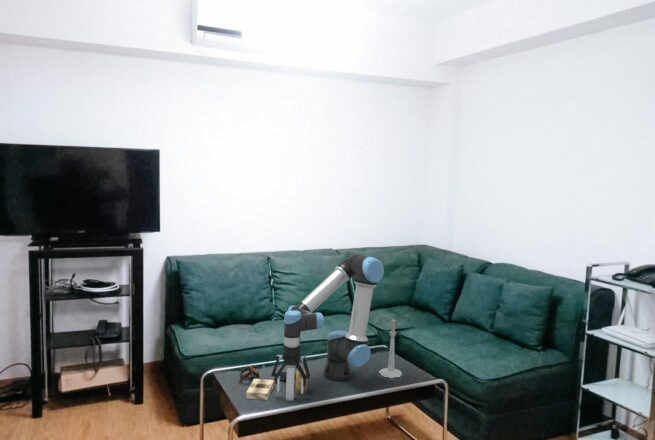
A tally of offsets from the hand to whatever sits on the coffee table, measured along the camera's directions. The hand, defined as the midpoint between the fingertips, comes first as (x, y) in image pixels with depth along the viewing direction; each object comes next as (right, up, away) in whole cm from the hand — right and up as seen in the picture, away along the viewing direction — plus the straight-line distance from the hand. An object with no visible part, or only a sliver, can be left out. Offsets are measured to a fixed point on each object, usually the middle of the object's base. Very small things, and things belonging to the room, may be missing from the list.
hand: (290, 391), depth 232 cm
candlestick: (+51, -3, +34) cm, 61 cm away
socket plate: (-15, -2, +6) cm, 16 cm away
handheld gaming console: (-4, -2, +25) cm, 25 cm away
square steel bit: (0, -3, 0) cm, 3 cm away
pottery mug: (-21, -1, +20) cm, 29 cm away
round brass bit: (+5, -3, +9) cm, 10 cm away
